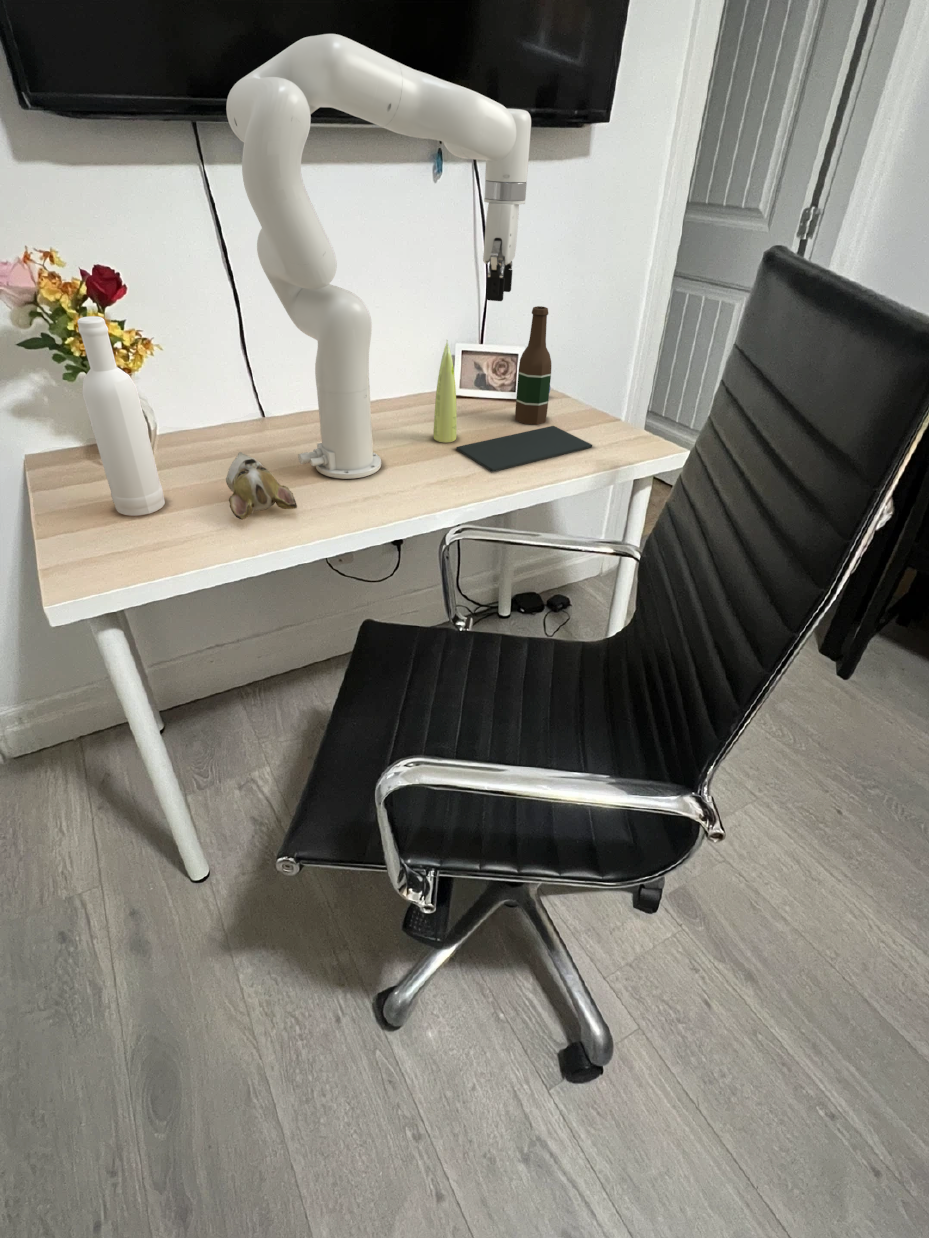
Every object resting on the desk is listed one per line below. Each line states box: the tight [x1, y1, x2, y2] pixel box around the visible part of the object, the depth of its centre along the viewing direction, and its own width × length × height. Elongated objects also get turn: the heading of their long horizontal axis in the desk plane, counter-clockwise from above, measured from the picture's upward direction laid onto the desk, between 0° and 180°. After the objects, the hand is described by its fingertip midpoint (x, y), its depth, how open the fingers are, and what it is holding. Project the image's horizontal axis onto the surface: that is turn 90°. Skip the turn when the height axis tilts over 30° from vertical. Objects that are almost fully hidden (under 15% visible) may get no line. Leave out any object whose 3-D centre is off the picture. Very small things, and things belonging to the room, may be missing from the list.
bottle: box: [76, 315, 166, 517], centre depth 108 cm, size 8×8×30 cm
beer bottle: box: [514, 305, 552, 426], centre depth 151 cm, size 8×8×24 cm
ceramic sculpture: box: [225, 451, 298, 521], centre depth 116 cm, size 11×9×15 cm
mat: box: [455, 425, 593, 473], centre depth 144 cm, size 26×13×1 cm, turn 124°
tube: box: [433, 339, 458, 444], centre depth 141 cm, size 6×5×20 cm
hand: (498, 295), depth 134 cm, fingers open, 9 cm apart
